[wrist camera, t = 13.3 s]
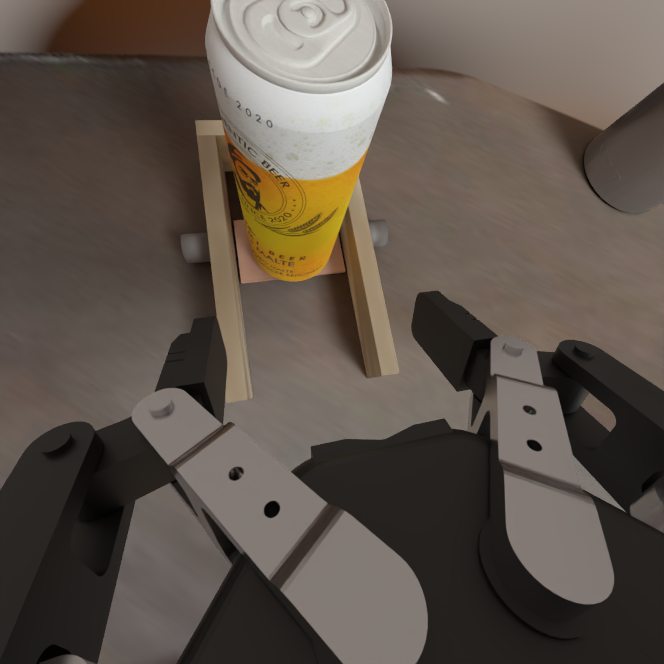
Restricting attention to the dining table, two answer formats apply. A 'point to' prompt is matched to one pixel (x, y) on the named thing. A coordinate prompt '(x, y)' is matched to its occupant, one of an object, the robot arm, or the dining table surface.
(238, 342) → the wooden stick frame
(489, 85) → the dining table surface
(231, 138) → the beer can
